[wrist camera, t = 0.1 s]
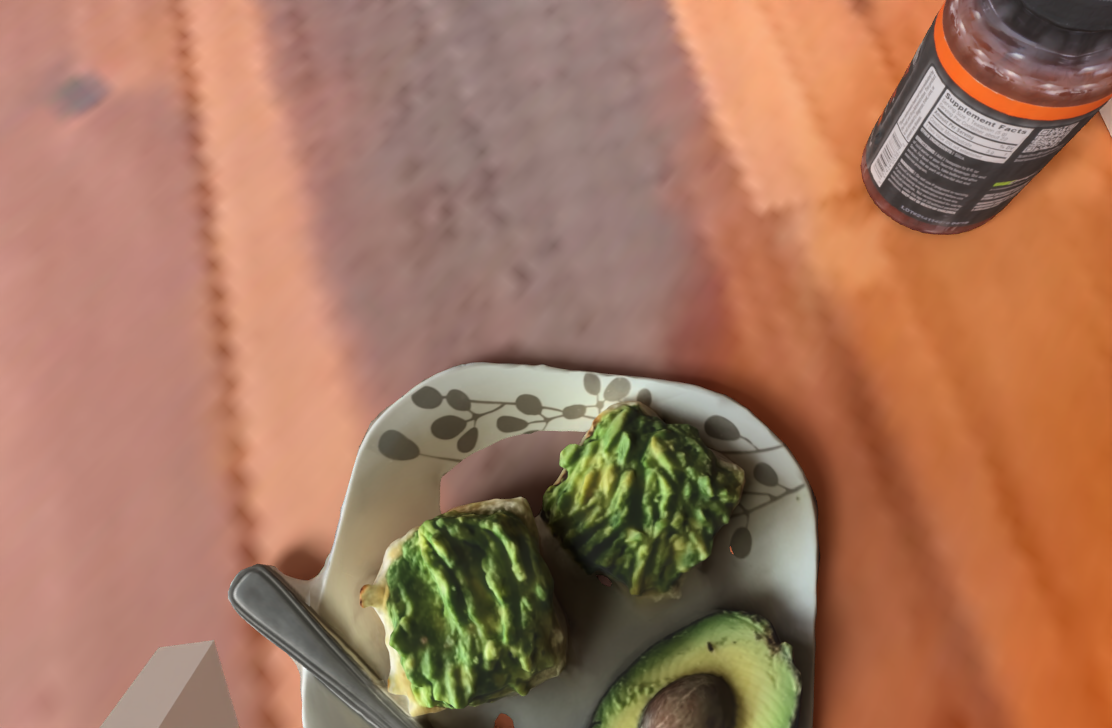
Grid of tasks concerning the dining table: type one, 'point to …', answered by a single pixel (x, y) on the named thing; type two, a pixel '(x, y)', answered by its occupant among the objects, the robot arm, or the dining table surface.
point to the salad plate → (559, 567)
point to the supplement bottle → (986, 108)
